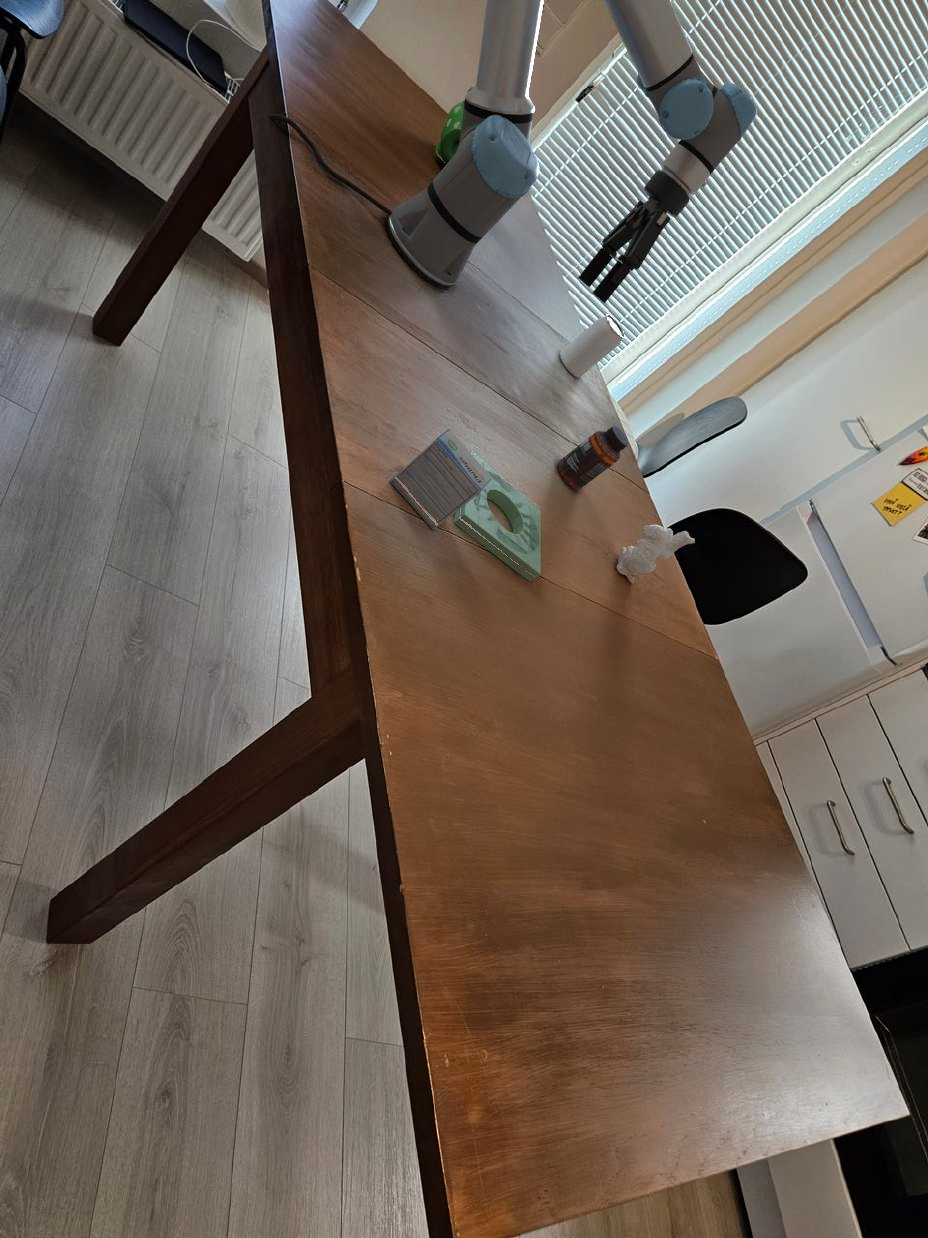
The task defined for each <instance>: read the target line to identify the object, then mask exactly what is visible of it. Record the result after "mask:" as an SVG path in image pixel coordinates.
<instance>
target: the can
mask: <svg viewBox="0 0 928 1238" xmlns="http://www.w3.org/2000/svg"><path fill="white" fill-rule="evenodd" d="M625 336H626V335H625V332H624V330H623V328H622V326H621V325H620V324H619V322H618V321H617V320H616V319H615V318H614V317H613V316H612V315H611V314H608V313H607V314H606V315H605V316H602V317H599V318H597V319H596V320H595V321H594V322H593V323H592V324H590V326H588V327H587V328H586V329H585V330H584V331H583V332H581V333H580V334H579V335H578V336H577V337H576V338H574V339H573V340H572V341H571V342H570V343H569V344H568V345H567V346H566V347H564V348H563V349H562V350H561V351H560V354H559V358H560V361H561V363H562V365H563V367H564V368H565V369H566V371H568V373H569V374H570V375H571V376H573V377H574V378H581V377H582V376H583V375H585V374H586V373H587V372H588V371H590V370H591V369H592V368H593V367H594V366H596V365H597V364H598V363H600V362H601V361H602V360H603V359H604V358H605V357H606V356H607V355H609V354H610V353H612V351H614V350H615V349H616V348H617V347H618V346H620V344H621V343H622V341H623V339H624V338H626V337H625Z"/></svg>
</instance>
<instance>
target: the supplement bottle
mask: <svg viewBox="0 0 928 1238" xmlns="http://www.w3.org/2000/svg"><path fill="white" fill-rule="evenodd" d="M628 446H629V440H628V437H627V436H626V434H625V433H624V432H623V430H622V429H621V428H620V427H619V426H617V425H612V426H611V427H609V428H607V430H597V431H595V432H593V433H592V435H589V437H587V438H586V439H585V440H584V441H582V442H581V443H580V444H579V445H577V446H576V447H574V449H572V450H571V451H570V452H568V453H567V454H566V455H565V456H563V457H562V458H561V459H560V460H559V461H558V462H557V468H558V472H559V474H560V476H561V477H562V479H563V481H565V483H566V484H567V485H568V486H569V487H571V488H573V489H575V490H581V489H582V488H583V487H584V488H585V487H586V486H587V485H588V484H589V483H591V482H592V481H593V480H595V479H596V478H597V477H599V476H600V475H601V474H603V473H604V472H605V471H607V470H608V469H609V468H610V467H612V466H613V465H615V464H616V463H617V462H618V461H619V460H620V458H621V451H623V450H625V449H626V447H628Z"/></svg>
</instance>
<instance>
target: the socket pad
mask: <svg viewBox="0 0 928 1238" xmlns="http://www.w3.org/2000/svg"><path fill="white" fill-rule="evenodd" d="M469 451H470V453H471V454H472V455H473V456H474V457H475V459H476V460H477V461H478V462H479V463H480V465H481V466H482V467H483V468H484V469H485V471H486V472H487V473H488V474H489V475H490V477H491V481H490V482H489V483H488V484H487V485H486V487H485V488H484V489H483V490H482V491H481V492H480V493H479V494H478V495H477V496H475V497H474V498H473V499H471V500H470V501H469V502H468V503H466V504H465V505H464V506H463V507H462V508H461V515H460V509H459V510H458V511H456V512H455V513H454V519H453V522H454V525H456V526H457V527H458V528H459V529H461V530H462V531H464V533H466V534H467V535H468V536H470V537H471V538H473V539H474V540H475V541H476V542H477V543H479V544H480V545H482V546H483V547H484V548H485V549H487V550H488V551H489V552H491V553H492V554H493V555H494V556H496V557H497V558H498V559H499V560H501V561H502V562H503V563H505V564H506V565H507V566H509V567H510V568H511V569H513V571H515V572H516V573H517V574H519V575H520V576H522V577H523V578H524V579H526V580H527V581H528V582H530V583H531V582H532V581H534V580H535V579H536V578H534V577H533V576H532V575H530V574H529V573H528V572H526V571H525V570H524V569H523V568H525V569H526V570H527V571H529V572H530V573H531V574H533V575H534V576H535V577H537V578H539V577H540V576H541V575H542V555H541V554H542V545H541V544H542V543H541V542H542V541H541V539H542V538H541V537H542V535H541V534H542V533H541V532H542V531H541V529H542V527H541V525H542V524H541V508H540V507H538V506H537V505H536V504H535V503H534V502H532V501H531V500H530V498H528V497H527V496H525V494H523V493H522V492H521V491H519V489H517V488H516V487H515V486H514V485H513V484H511V483H510V482H509V481H508V480H506V479H505V478H504V477H503V476H502V475H501V474H500V473H498V472H497V471H496V470H495V469H493V467H491V466H490V465H489V464H488V463H487V462H485V461H484V460H483V459H482V458H480V457H479V456H478V455H477V454H476V453H475V452H474V451H472V450H469ZM488 500H489V501H492V502H493V503H494V504H496V505H497V506H498V507H499V508H500V509H501V510H502V511H503V512H504V514H505V516H506V518H507V519H508V520H509V522H510V525H511V528H512V531H509V530H507V529H506V528H505V527H504V526H503V525H501V524H500V523H499V522H498V520H497V519H496V518H495V516H494V514H493V512H492V510H491V509H490V506H489V504H488ZM459 516H461V519H463V520H464V521H465V522H467V523H468V524H470V525H471V526H472V528H474V529H475V530H476V531H478V532H479V533H480V534H481V535H482V536H484V537H485V538H486V539H487V540H488V541H490V542H491V543H492V544H493V545H495V546H496V547H497V548H499V549H500V550H502V552H503V553H505V554H506V555H507V556H508V557H507V556H506V555H505V554H503V553H502V552H501V551H500V550H498V549H497V548H496V547H495V546H493V545H492V544H491V543H489V542H488V541H487V540H486V539H484V538H483V537H482V536H480V535H479V534H478V533H477V532H475V531H474V530H473V529H471V528H470V527H469V526H468V525H466V524H465V523H464V522H463V521H461V520H460V519H459ZM510 558H511V559H512V560H513V561H512V560H511V559H510ZM514 561H515V562H516V563H518V564H519V565H520V566H522V567H523V568H521V567H520V566H519V565H518V564H516V563H515V562H514Z"/></svg>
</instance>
